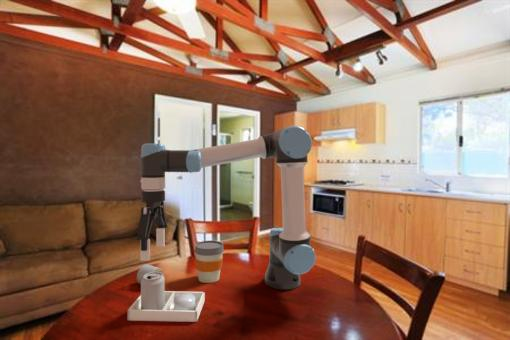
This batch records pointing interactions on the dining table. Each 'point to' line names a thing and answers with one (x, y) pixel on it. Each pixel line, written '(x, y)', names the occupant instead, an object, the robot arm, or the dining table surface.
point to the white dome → (184, 302)
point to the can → (153, 291)
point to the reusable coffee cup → (209, 260)
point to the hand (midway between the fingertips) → (153, 252)
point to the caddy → (167, 309)
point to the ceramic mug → (147, 271)
